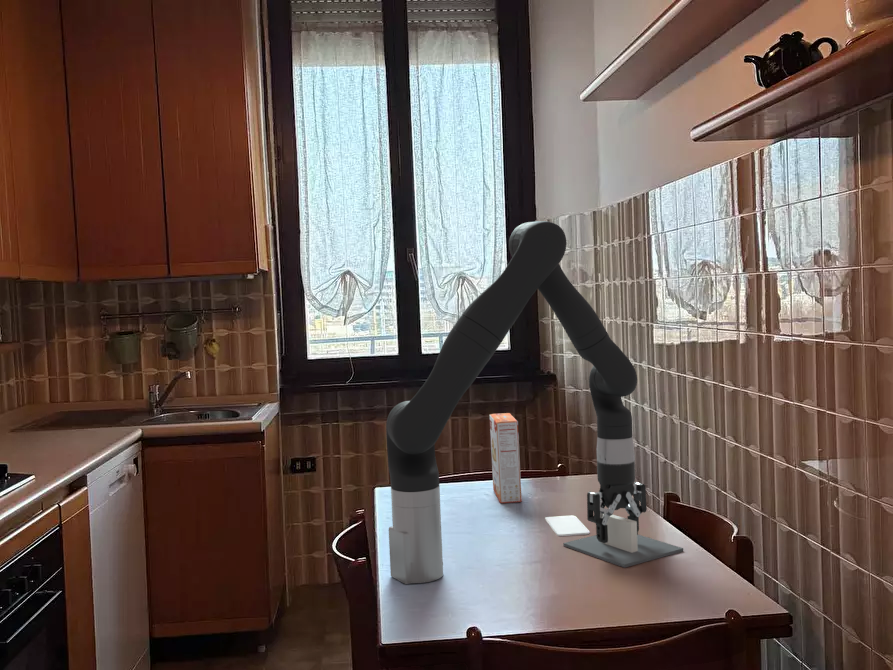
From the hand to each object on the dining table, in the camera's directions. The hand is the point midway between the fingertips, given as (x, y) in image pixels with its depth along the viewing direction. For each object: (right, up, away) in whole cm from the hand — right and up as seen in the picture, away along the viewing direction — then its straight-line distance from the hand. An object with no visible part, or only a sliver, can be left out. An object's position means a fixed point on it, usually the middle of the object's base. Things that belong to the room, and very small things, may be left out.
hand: (618, 538), depth 175 cm
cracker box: (-19, -1, +48) cm, 52 cm away
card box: (0, -2, 0) cm, 2 cm away
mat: (+1, -2, +1) cm, 3 cm away
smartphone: (-8, -2, +19) cm, 21 cm away
